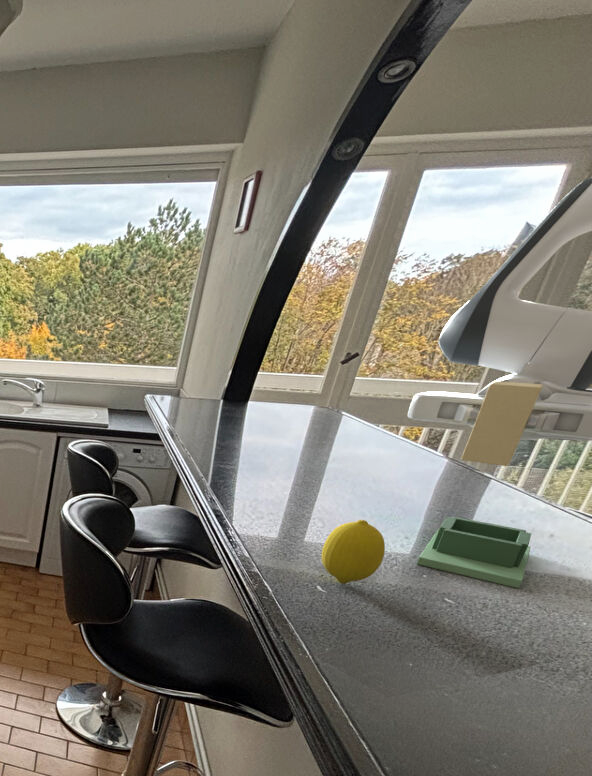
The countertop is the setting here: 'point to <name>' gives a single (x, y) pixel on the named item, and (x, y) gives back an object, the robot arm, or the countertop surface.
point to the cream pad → (501, 422)
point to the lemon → (353, 551)
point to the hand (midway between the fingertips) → (502, 420)
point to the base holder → (479, 551)
